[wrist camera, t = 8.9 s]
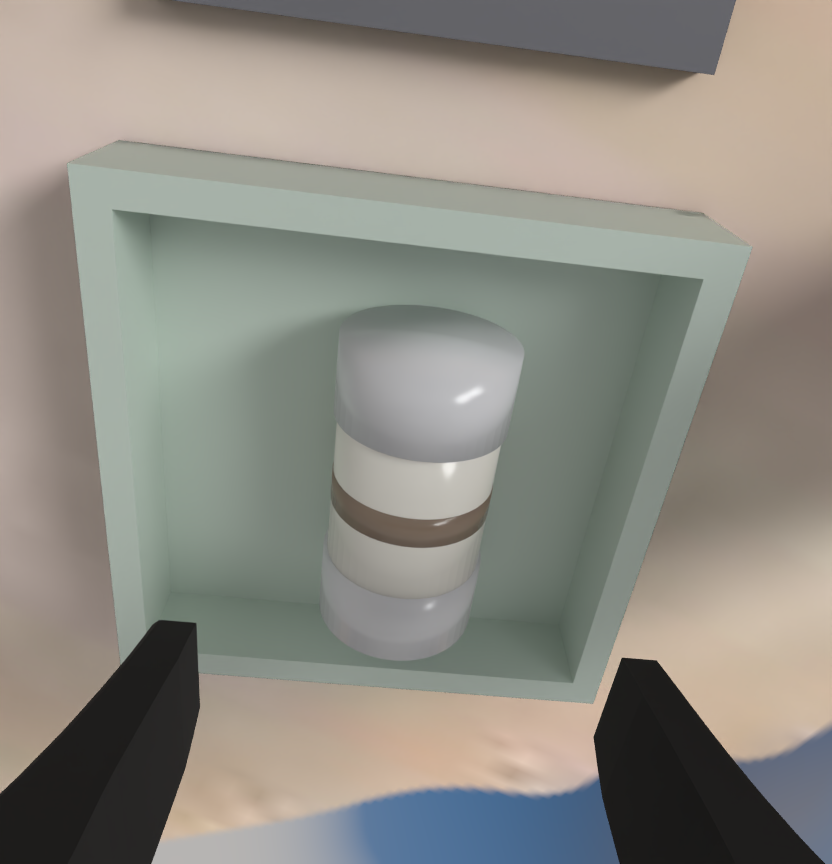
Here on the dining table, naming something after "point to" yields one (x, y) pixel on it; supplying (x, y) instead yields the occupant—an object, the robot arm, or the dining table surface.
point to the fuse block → (540, 24)
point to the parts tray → (315, 389)
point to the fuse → (413, 474)
